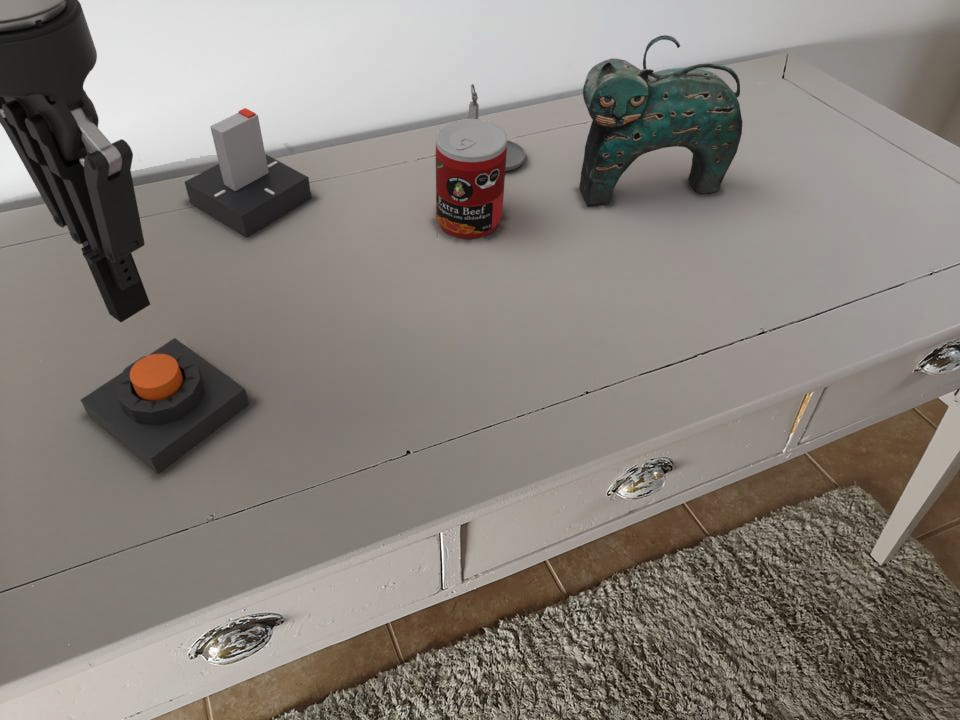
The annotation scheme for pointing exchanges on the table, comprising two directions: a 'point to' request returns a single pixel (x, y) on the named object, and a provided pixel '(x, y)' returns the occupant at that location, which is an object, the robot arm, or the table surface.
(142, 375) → the power button
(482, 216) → the canned food
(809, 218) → the table surface
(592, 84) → the ceramic cat
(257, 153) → the dial
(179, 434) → the dark square piece
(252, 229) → the dial panel
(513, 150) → the pocket watch
